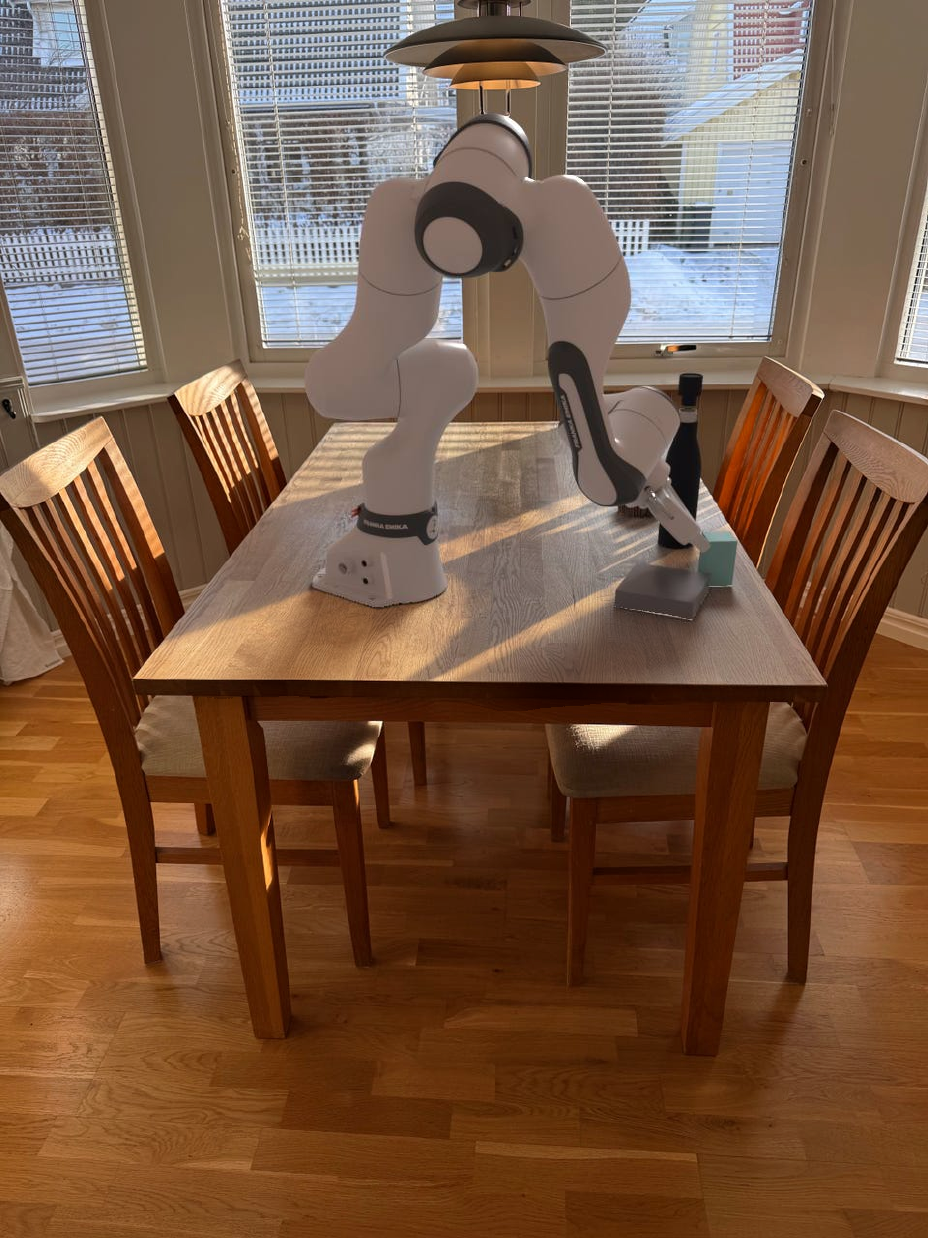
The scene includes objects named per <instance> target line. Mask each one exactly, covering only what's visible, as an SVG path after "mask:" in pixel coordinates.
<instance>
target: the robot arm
mask: <svg viewBox="0 0 928 1238" xmlns="http://www.w3.org/2000/svg"><path fill="white" fill-rule="evenodd" d="M533 165H534V164H533V150H532V146H531V144H530V140H529V138H528V136H527V135H526V133H525V131H524V130H523V129H522V127H521V126H520V125H519V124H518V123H517V122H516V121H514V120H513V119H511V117H508V116H506V115H503V114H499V113H493V112H492V113H491V112H489V113H483V114H480V115H476V116H475V117H472V118H471V119H469V120H467V122H465V123H464V124H463V125H462V126H460V127H459V128H458V129H457V130H456V131H455V132H454V133H453V135H451V137H450V138H449V139H448V141H447V142H446V143H445V145H444V146H443V148H441V150H440V152H438V153H437V155H436V156H435V157H434V159H433V161H432V169H433V170H432V171H431V172H430V174H429V175H427V176H426V177H423V178H419V179H418V178H413V177H409V176H396V177H392V178H389V179H385V180H383V181H382V182H381V183H379V184H378V185H377V186H376V187H375V188H374V189H373V190H372V191H371V193H370V195H369V197H368V200H367V204H366V208H365V211H364V214H363V221H362V224H361V229H360V230H361V231H360V239H359V247H358V264H357V265H358V266H357V283H356V284H357V285H356V286H357V287H356V295H355V303H354V308H353V312H352V315H351V317H350V319H349V320H348V322H347V323H346V325H345V326H344V328H343V329H342V330H341V332H340V333H338V335H337V336H335V338H333V339H332V340H331V341H330V342H329V343H327V344H325V345H324V346H322V347H321V348H319V349H318V350H315V352H314V353H312V355H311V357H310V359H309V361H308V362H307V366H306V367H305V370H304V371H305V372H304V379H303V380H304V381H303V382H304V388H305V389H304V390H305V393H306V395H307V399H308V401H309V403H310V404H311V406H312V407H313V408H314V409H315V411H316V412H317V413H318V414H319V415H320V416H322V417H323V418H329V419H336V420H337V419H338V420H345V421H362V420H364V421H366V420H378V419H390V418H397V422H396V425H395V427H394V428H393V429H392V431H391V432H390V433H389V434H388V435H386V436H385V437H383V438H382V439H379V441H377V442H375V443H374V444H372V445H371V446H370V448H368V450H367V451H366V452H365V454H364V455H363V458H362V461H361V471H362V473H361V475H362V485H363V488H362V489H363V501H364V502H362V503H360V504H358V505H357V507H356V508H354V509H353V510H351V511H349V512H350V513H352V514H351V516H350V518H351V519H354V518H355V517H357V516H358V518H357V521H356V524H355V525H354V526H352V527H351V528H350V529H349V530H348V531H346V532H345V533H344V534H343V535H341V536H340V537H339V538H338V539H336V540H335V541H334V542H333V543H332V544H330V546H329V548H328V549H327V553H326V556H325V564H324V565H325V566H324V567H323V568H321V569H320V570H318V572H317V573H316V574H315V575H314V576H313V579H312V588H314V589H316V590H318V591H322V592H324V593H328V592H329V593H328V594H331V593H332V594H331V595H334V596H337V595H338V596H337V597H340V596H341V597H340V598H343V597H344V599H346V598H347V599H346V600H349V601H353V602H355V601H356V602H355V603H358V602H359V604H361V605H364V604H365V606H367V605H369V606H368V607H370V606H372V607H371V608H373V607H382V608H385V607H384V606H387V607H390V606H393V605H392V604H394V605H399V603H402V604H411V603H410V602H412V603H417V602H421V601H426V600H429V599H431V598H434V596H435V597H436V595H437V596H439V595H440V594H441V593H443V592H444V591H445V590H446V589H447V586H448V580H447V577H446V574H445V571H444V569H443V563H442V560H441V555H440V550H439V543H438V542H439V541H438V536H439V513H438V503H437V501H436V500H435V466H436V463H435V462H436V455H437V451H438V448H439V444H440V441H441V439H442V437H443V436H444V435H443V434H444V433H445V431H446V429H447V427H448V426H449V424H450V423H451V422H452V421H453V420H454V418H455V417H456V415H458V414H459V412H461V411H462V410H463V409H464V408H466V407H467V406H468V405H469V404H470V402H471V401H472V400H473V398H474V396H475V394H476V391H477V389H478V385H479V368H478V364H477V361H476V358H475V357H474V355H473V353H472V352H471V350H470V349H469V347H467V345H465V344H464V343H463V342H462V341H455V340H450V339H442V338H435V337H431V338H429V337H428V338H427V336H428V335H429V334H430V333H431V332H432V331H433V329H434V327H435V324H436V323H437V321H438V318H439V313H440V312H439V311H440V304H441V303H440V302H441V295H442V288H443V279H444V276H446V277H449V278H454V279H472V278H476V277H480V276H481V277H482V276H484V275H486V274H488V273H492V272H493V273H494V272H495V273H502V272H505V271H508V270H509V269H511V268H512V267H513V265H514V264H516V263H517V261H518V260H519V261H520V262H521V263H522V264H523V265H524V267H525V268H526V270H527V273H528V276H529V277H530V279H531V282H532V284H533V286H534V289H535V291H536V293H537V296H538V299H539V301H540V304H541V308H542V312H543V317H544V322H545V327H546V334H547V335H546V337H547V348H548V349H547V368H548V369H547V370H548V375H549V379H550V384H551V386H552V390H553V393H554V396H555V401H556V405H557V408H558V411H559V413H560V419H559V421H558V424H557V432H558V434H559V435H560V437H561V439H562V440H563V442H564V443H565V444H566V445H567V447H568V449H569V450H570V451H571V457H572V458H571V459H572V460H571V461H572V462H571V465H572V471H573V476H574V480H575V482H576V485H577V486H578V489H579V490H580V492H581V493H582V495H584V497H585V498H586V499H588V500H589V501H590V502H592V503H594V504H596V505H598V506H601V507H605V508H607V507H608V508H611V507H612V508H613V507H618V506H621V505H626V506H627V507H630V508H631V507H636V506H639V507H640V508H641V509H645V508H649V510H650V511H651V513H652V514H653V515H654V516H653V517H654V518H655V520H657V521H658V523H659V522H660V523H661V524H662V525H663V527H664V528H665V529H666V530H667V531H668V532H669V533H670V534H671V535H672V536H673V537H674V538H675V539H676V540H677V541H678V542H679V543H681V544H682V545H686V544H688V543H691V544H692V546H694V547H695V548H696V549H698V550H699V552H700V551H701V552H702V553H704V552H706V551H707V550H708V549H709V548H710V547H711V545H710V543H709V542H708V541H707V540H706V539H705V538H704V537H703V536H702V530H701V527H700V525H699V524H698V523H697V520H696V521H695V520H694V518H693V517H692V515H691V514H690V512H689V511H688V510H687V508H686V507H685V505H684V504H683V502H682V501H681V500H680V498H679V497H678V495H677V494H676V492H675V491H674V489H673V488H672V486H671V485H670V484H671V479H670V478H669V477H668V475H669V473H670V466H669V465H668V464H667V463H666V462H665V460H664V459H663V457H662V456H663V455H664V454H665V452H666V450H667V449H668V447H670V445H671V443H672V440H673V438H674V436H675V435H676V433H677V430H678V428H679V427H680V424H681V419H680V414H679V408H678V407H677V404H676V403H675V402H674V400H673V399H672V398H671V397H670V396H669V395H668V394H667V393H665V391H663V390H661V389H659V388H658V387H654V386H650V385H639V386H638V385H637V386H634V387H631V388H630V389H629V390H626V391H623V392H615V393H609V394H604V383H605V382H604V381H605V380H604V379H605V375H606V372H607V371H606V370H607V368H608V365H609V361H610V358H611V356H612V352H613V350H614V347H615V345H616V343H617V341H618V338H619V337H620V335H621V331H622V330H623V327H624V325H625V323H626V321H627V318H628V315H629V312H630V309H631V305H632V288H631V279H630V274H629V269H628V266H627V264H626V261H625V258H624V255H623V253H622V249H621V247H620V244H619V242H618V239H617V236H616V234H615V232H614V230H613V227H612V224H611V223H610V221H609V219H608V217H607V215H606V213H605V211H604V209H603V207H602V206H601V204H600V203H599V200H598V199H597V197H596V195H595V193H594V192H593V191H592V189H591V187H590V186H589V185H588V184H587V183H586V182H585V181H584V180H583V179H582V178H579V177H577V176H575V175H571V174H557V175H553V176H550V177H547V178H544V179H543V180H539V179H538V180H536V179H535V180H534V179H532V174H533ZM507 262H509V263H508V264H507ZM505 264H507V265H505ZM389 605H390V606H389Z"/></svg>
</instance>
